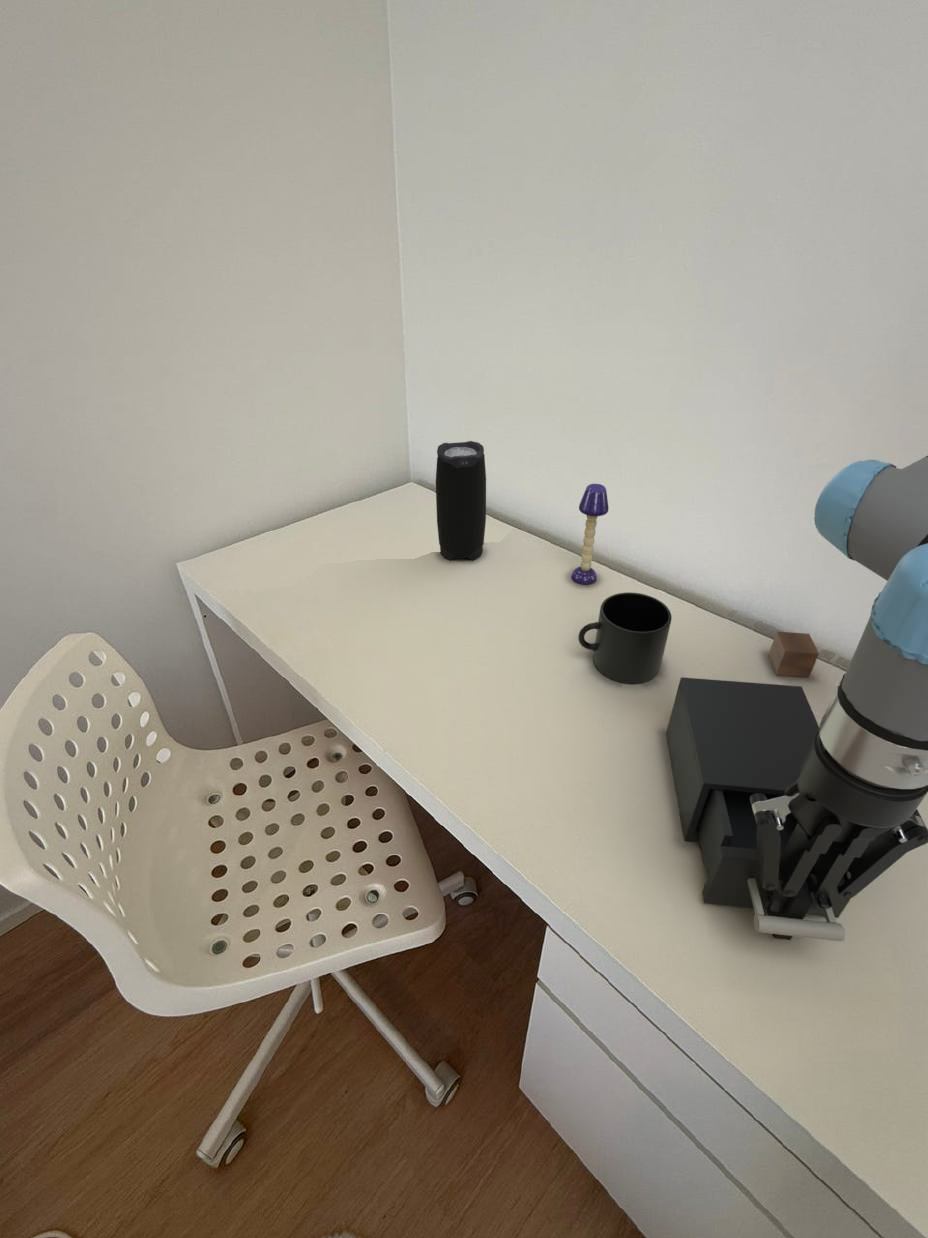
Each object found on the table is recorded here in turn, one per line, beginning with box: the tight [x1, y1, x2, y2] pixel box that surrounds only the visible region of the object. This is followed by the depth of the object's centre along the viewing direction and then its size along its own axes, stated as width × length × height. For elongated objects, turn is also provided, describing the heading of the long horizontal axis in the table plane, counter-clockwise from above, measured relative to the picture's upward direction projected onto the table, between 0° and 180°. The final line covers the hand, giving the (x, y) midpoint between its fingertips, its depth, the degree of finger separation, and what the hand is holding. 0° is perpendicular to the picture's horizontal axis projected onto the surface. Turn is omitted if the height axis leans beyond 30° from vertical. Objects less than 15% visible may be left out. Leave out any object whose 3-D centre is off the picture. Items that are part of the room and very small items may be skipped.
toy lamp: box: [571, 483, 609, 585], centre depth 105 cm, size 5×5×17 cm
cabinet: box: [665, 676, 820, 843], centre depth 72 cm, size 16×14×10 cm
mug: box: [577, 591, 673, 685], centre depth 90 cm, size 9×12×9 cm
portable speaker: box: [435, 440, 487, 561], centre depth 112 cm, size 9×9×20 cm
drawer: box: [697, 789, 852, 942], centre depth 63 cm, size 19×12×8 cm, turn 173°
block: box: [767, 631, 820, 679], centre depth 90 cm, size 4×4×4 cm
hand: (777, 925), depth 60 cm, fingers closed
